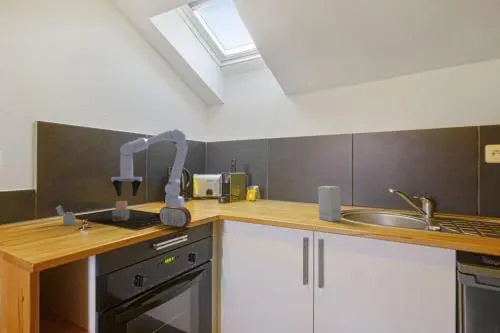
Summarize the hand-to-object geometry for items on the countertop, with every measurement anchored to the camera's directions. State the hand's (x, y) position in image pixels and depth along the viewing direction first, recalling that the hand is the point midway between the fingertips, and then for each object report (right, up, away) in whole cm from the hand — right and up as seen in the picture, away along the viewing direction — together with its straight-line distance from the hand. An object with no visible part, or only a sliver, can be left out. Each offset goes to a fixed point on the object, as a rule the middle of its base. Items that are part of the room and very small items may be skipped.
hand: (127, 195), depth 134 cm
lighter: (-19, -11, -17) cm, 27 cm away
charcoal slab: (+1, -8, -8) cm, 11 cm away
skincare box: (+97, -11, -8) cm, 98 cm away
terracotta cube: (+1, -6, -7) cm, 9 cm away
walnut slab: (+1, -11, -7) cm, 13 cm away
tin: (+29, -11, -21) cm, 37 cm away
